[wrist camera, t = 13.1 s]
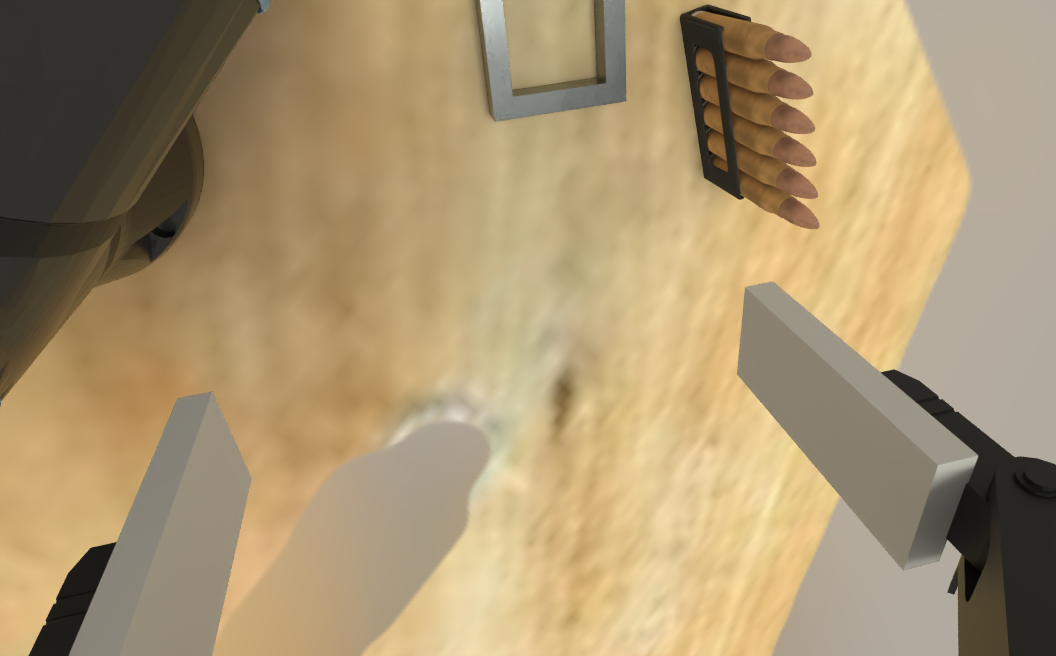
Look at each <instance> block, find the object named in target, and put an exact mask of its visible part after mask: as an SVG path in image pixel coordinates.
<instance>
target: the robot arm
mask: <svg viewBox="0 0 1056 656" xmlns="http://www.w3.org/2000/svg"><path fill="white" fill-rule="evenodd" d="M270 1H271V0H0V406H1V401H2V400H3V399H4V397H5V396H6V395H7V394H8V393H9V391H10V390H11V389H12V388H13V386H14V385H15V384H16V383H17V381H18V380H19V379H20V378H21V376H22V375H23V374H24V373H25V371H26V370H27V369H28V368H29V366H30V365H31V364H32V363H33V361H34V360H35V359H36V358H37V356H38V355H39V354H40V353H41V352H42V350H43V349H44V348H45V347H46V345H47V344H48V343H49V342H50V340H51V339H52V338H53V337H54V336H55V334H56V333H57V332H58V331H59V329H60V328H61V327H62V326H63V324H64V323H65V322H66V321H67V320H68V318H69V317H70V316H71V315H72V313H73V312H74V311H75V310H76V308H77V307H78V306H79V305H80V304H81V302H82V301H83V300H84V299H85V297H86V296H87V295H88V294H89V292H90V291H91V290H92V289H93V288H94V287H97V286H100V285H103V284H106V283H109V282H112V281H115V280H118V279H120V278H123V277H126V276H129V275H131V274H133V273H135V272H137V271H139V270H141V269H143V268H145V267H146V266H148V265H149V264H151V263H152V262H154V261H155V260H156V259H158V258H159V257H160V256H161V255H163V254H164V253H165V252H166V251H167V250H168V249H169V248H170V247H171V246H172V245H173V244H174V242H175V241H176V240H177V239H178V237H179V236H180V234H181V233H182V231H183V230H184V228H185V227H186V225H187V224H188V222H189V221H190V219H191V217H192V216H193V213H194V211H195V209H196V207H197V204H198V202H199V199H200V195H201V191H202V185H203V176H204V160H203V151H202V145H201V141H200V137H199V133H198V130H197V127H196V124H195V121H194V119H193V116H192V114H193V112H194V110H195V109H196V107H197V106H198V104H199V103H200V101H201V99H202V98H203V96H204V95H205V93H206V91H207V90H208V88H209V87H210V85H211V84H212V82H213V80H214V79H215V77H216V76H217V74H218V72H219V71H220V69H221V68H222V66H223V65H224V63H225V61H226V60H227V58H228V57H229V55H230V54H231V52H232V50H233V49H234V47H235V46H236V44H237V42H238V41H239V39H240V38H241V36H242V35H243V33H244V31H245V30H246V28H247V27H248V25H249V23H250V22H251V20H252V19H253V17H254V16H255V14H256V12H257V13H259V14H263V13H265V12H266V11H267V9H268V8H269V5H270ZM737 374H738V376H739V377H740V378H741V379H742V380H743V382H744V383H745V384H746V385H747V386H748V387H749V389H750V390H751V391H752V392H753V393H754V395H755V396H756V397H757V398H758V399H759V400H760V402H761V403H762V404H763V405H764V406H765V408H766V409H767V410H768V411H769V412H770V414H771V415H772V416H773V417H774V418H775V419H776V421H777V422H778V423H779V424H780V425H781V427H782V428H783V429H784V430H785V431H786V432H787V434H788V435H789V436H790V437H791V438H792V440H793V441H794V442H795V443H796V444H797V445H798V447H799V448H800V449H801V450H802V451H803V453H804V454H805V455H806V456H807V457H808V458H809V460H810V461H811V462H812V463H813V464H814V466H815V467H816V468H817V469H818V470H819V471H820V473H821V474H822V475H823V476H824V477H825V479H826V480H827V481H828V482H829V483H830V484H831V486H832V487H833V488H834V489H835V490H836V492H837V493H838V494H839V495H840V496H841V497H842V499H843V500H844V501H845V502H846V503H847V505H848V506H849V507H850V508H851V509H852V510H853V512H854V513H855V514H856V515H857V516H858V518H859V519H860V520H861V521H862V522H863V523H864V525H865V526H866V527H867V528H868V529H869V531H870V532H871V533H872V534H873V535H874V536H875V538H876V539H877V540H878V541H879V542H880V544H881V545H882V546H883V547H884V548H885V549H886V551H887V552H888V553H889V554H890V555H891V557H892V558H893V559H894V560H895V561H896V562H897V564H898V565H899V566H900V567H901V568H902V569H903V570H907V569H911V568H915V567H918V566H922V565H926V564H929V563H933V562H937V561H939V560H940V557H941V555H942V552H943V549H944V547H945V544H946V541H947V539H948V540H949V541H950V542H951V543H952V545H953V546H954V547H955V548H956V549H957V550H958V551H959V552H960V553H961V554H962V555H961V558H960V561H959V563H958V566H957V568H956V571H955V573H954V576H953V579H952V581H951V583H950V586H949V589H948V593H951V594H955V591H956V589H957V587H958V638H959V639H958V640H959V641H958V642H959V643H958V644H959V656H1056V465H1055V464H1053V463H1050V462H1046V461H1043V460H1040V459H1037V458H1029V457H1014V456H1012V455H1011V454H1010V453H1009V452H1007V451H1006V450H1005V449H1004V448H1002V447H1001V446H1000V445H998V444H997V443H996V442H995V441H994V440H992V439H991V438H990V437H989V436H987V435H986V434H985V433H984V432H982V431H981V430H980V429H979V428H977V427H976V426H975V425H974V424H972V423H971V422H970V421H968V420H967V419H966V418H965V417H964V416H962V415H961V414H960V413H959V412H955V411H954V409H953V408H952V407H951V406H950V405H949V404H948V403H946V402H945V401H944V400H942V399H941V400H940V399H939V398H938V396H937V395H936V394H935V393H934V392H932V391H931V390H930V389H929V388H928V387H926V386H925V385H924V384H922V383H921V382H920V381H918V380H916V379H914V378H912V377H910V376H907V375H905V374H903V373H901V372H899V371H897V370H889V371H885V372H879V371H878V370H877V369H876V368H875V367H873V366H872V365H871V364H870V363H869V362H868V361H866V360H865V359H864V358H863V357H862V356H860V355H859V354H858V353H857V352H856V351H855V350H853V349H852V348H851V347H850V346H849V345H847V344H846V343H845V342H844V341H843V340H842V339H840V338H839V337H838V336H837V335H836V334H834V333H833V332H832V331H831V330H830V329H829V328H827V327H826V326H825V325H824V324H823V323H821V322H820V321H819V320H818V319H817V318H816V317H814V316H813V315H812V314H811V313H810V312H808V311H807V310H806V309H805V308H804V307H803V306H801V305H800V304H799V303H798V302H797V301H795V300H794V299H793V298H792V297H791V296H790V295H788V294H787V293H786V292H785V291H784V290H782V289H781V288H780V287H779V286H778V285H777V284H775V283H774V282H768V283H763V284H758V285H753V286H748V287H745V294H744V305H743V316H742V326H741V337H740V348H739V358H738V369H737ZM250 483H251V475H250V473H249V471H248V469H247V467H246V464H245V462H244V460H243V458H242V456H241V453H240V451H239V449H238V447H237V445H236V442H235V440H234V438H233V436H232V434H231V431H230V429H229V427H228V425H227V423H226V420H225V418H224V416H223V414H222V412H221V409H220V407H219V405H218V403H217V401H216V398H215V396H214V394H213V392H208V393H203V394H198V395H193V396H188V397H183V398H178V399H177V401H176V404H175V406H174V408H173V411H172V413H171V415H170V418H169V420H168V422H167V425H166V427H165V430H164V432H163V434H162V437H161V439H160V441H159V444H158V446H157V448H156V451H155V453H154V455H153V458H152V460H151V463H150V465H149V467H148V470H147V472H146V474H145V477H144V479H143V481H142V484H141V486H140V488H139V491H138V493H137V496H136V498H135V500H134V503H133V505H132V507H131V510H130V512H129V514H128V517H127V519H126V522H125V524H124V526H123V529H122V531H121V533H120V536H119V538H118V540H117V542H115V543H111V544H106V545H102V546H97V547H92V548H90V549H89V550H88V552H87V553H86V554H85V555H84V556H83V557H82V558H81V559H80V561H79V562H78V563H77V564H76V565H75V566H74V567H73V568H72V570H71V571H70V572H69V573H68V575H67V577H66V579H65V581H64V583H63V585H62V587H61V589H60V592H59V594H58V596H57V598H56V600H57V602H56V604H53V606H52V608H51V610H50V612H49V614H48V617H47V619H46V625H44V626H43V627H42V629H41V631H40V633H39V635H38V637H37V639H36V642H35V644H34V646H33V648H32V650H31V652H30V654H29V656H212V653H213V648H214V644H215V640H216V635H217V631H218V626H219V622H220V617H221V613H222V608H223V604H224V599H225V595H226V590H227V586H228V581H229V577H230V572H231V568H232V563H233V559H234V554H235V550H236V546H237V541H238V537H239V532H240V528H241V523H242V519H243V514H244V510H245V505H246V501H247V496H248V492H249V487H250Z"/></svg>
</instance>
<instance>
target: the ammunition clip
mask: <svg viewBox="0 0 1056 656" xmlns="http://www.w3.org/2000/svg"><path fill="white" fill-rule="evenodd" d="M680 22H681V29H682V35H683V42H684V48H685V55H686V61H687V68H688V75H689V81H690V88H691V94H692V101H693V107H694V114H695V121H696V127H697V134H698V140H699V147H700V153H701V160H702V167H703V173H704V178H706V179H707V180H709V181H710V182H712V183H714V184H715V185H717V186H718V187H720V188H722V189H723V190H725V191H726V192H728V193H729V194H731V195H733V196H734V197H736V198H737V199H739V200H741V199H743V198H744V197H746V198H747V199H749V200H750V201H752V202H753V203H755V204H756V205H758V206H759V207H761V208H762V209H764V210H765V211H767V212H770V213H774V214H776V215H778V216H779V217H781V218H784V219H785V220H787V221H789V222H790V223H792V224H795V225H797V226H800V227H803V228H807V229H818V228H819V222H818V220H817V218H816V217H815V215H814V214H813V213H812V212H811V211H810V210H809V209H808V208H807V207H806V206H805V205H804V204H802V203H801V202H799V201H798V200H797V199H795V198H794V197H793V196H796V197H800V198H806V199H814V198H817V197H818V193H817V190H816V188H815V187H814V186H813V184H812V183H811V182H810V181H809V180H808V179H807V178H806V177H804V176H803V175H802V174H800V173H799V172H797V171H795V170H794V169H793V168H791V167H790V166H788V165H787V164H786V163H788V164H791V165H795V166H801V167H811V166H815V165H816V159H815V157H814V155H813V154H812V153H811V151H810V150H809V149H807V148H806V147H805V146H804V145H802V144H801V143H800V142H798V141H796V140H794V139H792V138H791V137H790V136H788V135H786V134H784V133H783V132H782V131H781V130H783V131H786V132H790V133H795V134H808V133H812V132H814V130H815V127H814V124H813V123H812V121H811V120H810V119H809V118H808V117H807V116H806V115H805V114H803V113H802V112H801V111H799V110H797V109H796V108H794V107H791V106H789V105H788V104H786V103H784V102H782V101H781V100H780V99H778V98H777V97H776V96H779V97H783V98H788V99H805V98H808V97H811V96H812V95H813V90H812V88H811V86H810V85H809V84H808V83H807V82H806V81H804V80H803V79H802V78H801V77H799V76H797V75H795V74H793V73H791V72H788V71H786V70H784V69H782V68H779V67H777V66H776V65H775V64H774V63H773V62H771V61H768V60H772V61H773V60H775V61H779V62H785V63H795V62H801V61H805V60H807V59H809V58H810V57H811V51H810V49H809V48H808V47H807V46H806V45H805V44H804V43H802V42H801V41H799V40H798V39H796V38H794V37H791V36H788V35H784V34H783V33H780V32H777V31H774V30H773V29H772V28H770V27H769V26H766V25H762V24H758V23H753V22H751V18H750V17H748V16H745V15H741V14H738V13H735V12H731V11H728V10H724V9H721V8H718V7H714V6H711V5H705V6H703V7H700V8H697V9H695V10H692V11H689V12H687V13H684V14H682V15H681V17H680ZM765 59H767V60H765ZM790 194H791V195H793V196H791V195H790ZM742 195H743V196H744V197H743V196H742Z"/></svg>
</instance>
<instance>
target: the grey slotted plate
mask: <svg viewBox="0 0 1056 656" xmlns="http://www.w3.org/2000/svg"><path fill="white" fill-rule="evenodd" d="M476 7H477V15H478V23H479V30H480V38H481V46H482V54H483V62H484V70H485V78H486V86H487V93H488V101H489V109H490V115H491V116H492V118H493V119H494V121H501V120H508V119H514V118H521V117H527V116H534V115H540V114H547V113H553V112H559V111H566V110H572V109H579V108H585V107H592V106H598V105H605V104H611V103H618V102H624V101H626V58H625V0H594V8H595V34H596V60H597V78H591V79H585V80H578V81H571V82H565V83H558V84H551V85H544V86H538V87H531V88H524V89H518V90H512V85H511V75H510V66H509V57H508V47H507V38H506V29H505V19H504V10H503V1H502V0H476Z"/></svg>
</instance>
